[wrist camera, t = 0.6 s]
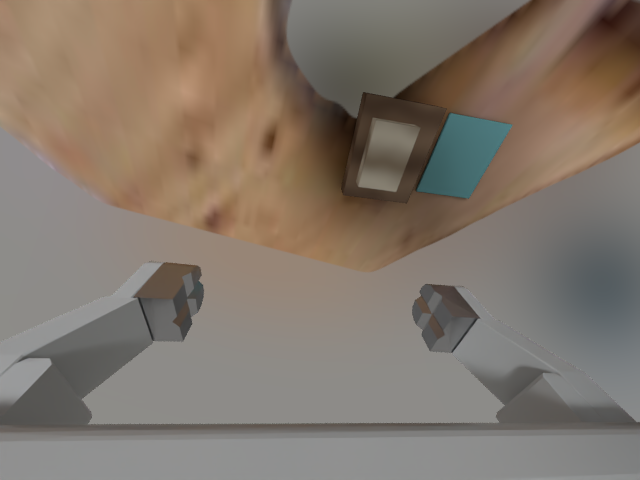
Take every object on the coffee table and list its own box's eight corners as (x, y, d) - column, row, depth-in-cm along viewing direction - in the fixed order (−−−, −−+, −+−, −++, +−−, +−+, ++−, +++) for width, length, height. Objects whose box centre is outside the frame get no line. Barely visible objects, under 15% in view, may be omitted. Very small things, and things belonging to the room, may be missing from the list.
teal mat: (449, 112, 32) (450, 113, 32) (510, 124, 34) (512, 124, 33) (415, 190, 39) (416, 191, 39) (467, 197, 41) (468, 198, 40)
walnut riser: (363, 92, 31) (367, 93, 29) (438, 106, 32) (446, 108, 30) (341, 188, 39) (343, 195, 37) (401, 196, 40) (406, 203, 38)
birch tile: (372, 117, 30) (376, 120, 29) (414, 125, 31) (420, 127, 29) (355, 181, 35) (358, 186, 34) (392, 186, 36) (396, 191, 35)
